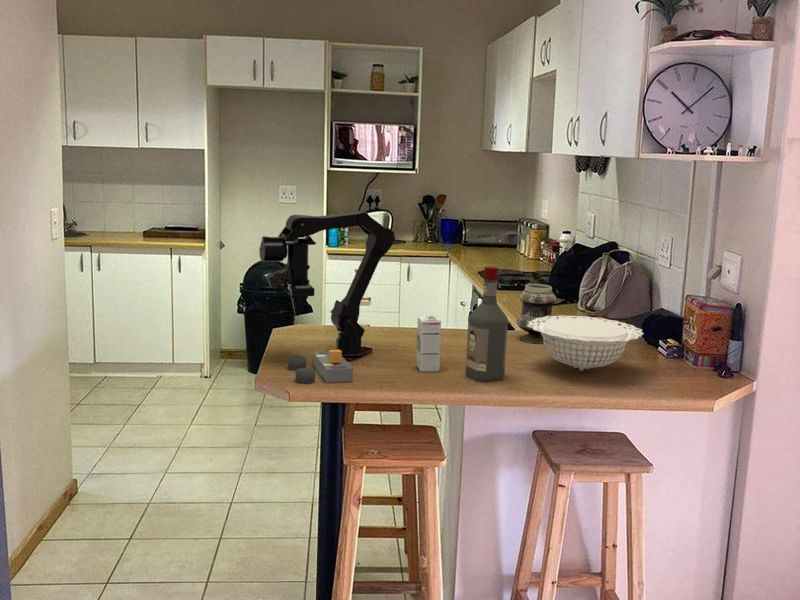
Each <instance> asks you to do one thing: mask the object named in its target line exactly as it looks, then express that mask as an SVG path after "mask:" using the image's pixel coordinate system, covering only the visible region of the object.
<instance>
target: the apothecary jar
mask: <svg viewBox="0 0 800 600" xmlns="http://www.w3.org/2000/svg"><path fill="white" fill-rule="evenodd" d="M524 287H525V288H524V290H523V291H521V292H520V293H519V300H520V301H521V302H522V306H521V315H519V316H518V317H517V319H516V325H517V327H518V328H519V329H520V330H523V331H524V332H526V333H527V334H526V333H525V334H523V335H521V336H519V338H518V340H520V341H522V342H525V343H528V344H544V342H543V336H542V333H541V332H539V331H535V330H533V328H530V327H528V325H529V323H528V322H529V321H532V320H535V319H536V318H541V317H545V316H552V311H553V310H552V307H553V305H554V304H555V303H556V302H557V296H556V295H555V293H554V292H553V287H552V286H551V285H547V284H541V283H526V284H525V286H524ZM549 318H551V317H549ZM537 322H538V321H537ZM532 323H533V322H532ZM539 323H540V322H539ZM543 323H544V322H543ZM538 326H539V325H538ZM545 342H546V341H545ZM547 343H548V341H547Z"/></svg>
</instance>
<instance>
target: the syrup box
mask: <svg viewBox="0 0 800 600" xmlns="http://www.w3.org/2000/svg"><path fill="white" fill-rule="evenodd" d="M441 329H442V321H441V319H440V318H439V317H438V316H436V315H421V316H418V317H417V330H416V331H417V334H416V335H417V336H416V337H417V340H416V364H415V366H416V368H417V369H418V370H419V371H420V372H440V366H441V365H440V364H441V340H442V339H441V336H442V335H441V334H442V332H441V331H442V330H441Z"/></svg>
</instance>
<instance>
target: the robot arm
mask: <svg viewBox="0 0 800 600" xmlns="http://www.w3.org/2000/svg"><path fill="white" fill-rule="evenodd" d="M350 227H359V229H360V230H361V231H362V232H363V233H364V234H365V235H367V237H366V242H365V253H364V255H363V257H362V260H361V261H360V263H359V266H358V269H357V270H356V273H355V275H354V277H353V278H352V279H353V280H352V282H351V283H350V285H349V288H348V290H347V293H346V295H345V297H344V298H342V300H341V301H339V300H338V299H336V300H335V302H334V304H333V308H332V309H331V310H330V314H331V315H330V320H331V323H332V325H333V326H335V328H336V330H337V332H338V333H337V334H338V335H337V337H336V339H335V342H336V343H335V350H341V351H342V354H357V353H361V355H360V356H361V357H363V354H362V337H363V336H364V334H365V331H366V330H365V328H363V327H362V325H361V324H360V323H358V320H359V317H360V309H361V308H360V307H361V305H360V304H361V302H362V300H363V298H364V295H365V294H366V291H367V289H368V287H369V284H370V283H371V281H372V278H373V275H374V273H375V271H376V269H377V267H378V264H379V262H380V260H381V259H382V258H383V257H384V256H385V255H386V254H387V253H388V252H389V251H390V249H391V248H392V246H393V245H394V243H395V241H396V235H395V232H394V231H393V229H391V228H388V227H387V226H386V227H385V226H384V225H382V224H381V223H379V222H378V221H376V220H375V219H374V218H373V217H371V215H369V214H368V212H365V211H362V210H356V211H352V212H351V211H350V212H344V213H335V214H327V215H317V216H316V215H308V214H307V215H306V214H305V215H304V214H292V215H290V216H288V218H287V219H286V222H285V226H284V227H283V229H281V232H280V233H279V234H278V235H277V236H265V235H264V236H262V237H261V242H260V245H259V248H258V249H259V258H260V261H261V262H262V263H263V262H264V263H265V262H283V261H284V259H286V258H287V261H286V263H285V264H284V268H283V269H279V270H276V271H274V272H271V273H269V274H266V276H265V277H266V279H267V282H268V284H269V287H270V288H271V289H274V288H277V287H278V286H282V287H285V286H286V285H287V288H285V289H284V291H285V292H286V293H287V295H289V296H290V299H291V303H292V308H293V311H294V316H295V317H299V316H300V315H301V312H302V311H303V308H304V307H305V304H306V302H307V300H308V298H309V297H314V296H315V288H314V287H313V286H312V285H311V284H310V279H309V270H310V264H309V246H314V245H317V242H316V241H314V240H313V238H312V237H311V236H313V235H314V234H317V233H319V232H322V231H327V230H334V229H335V230H336V229H344V228H350Z"/></svg>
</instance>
